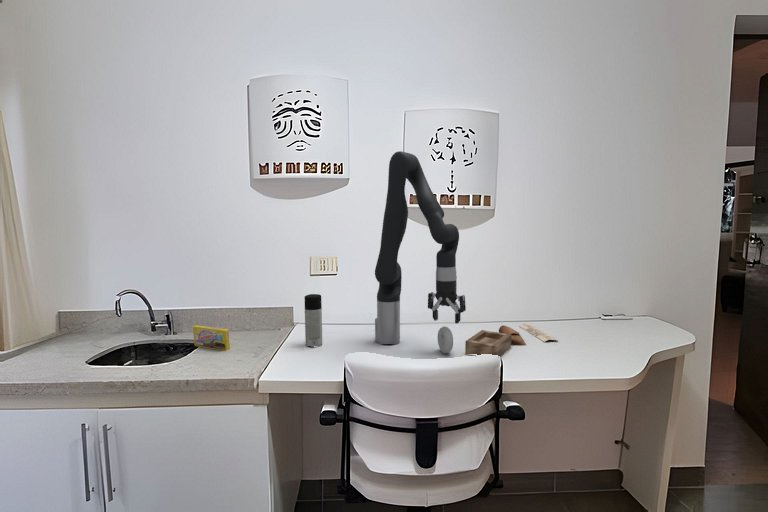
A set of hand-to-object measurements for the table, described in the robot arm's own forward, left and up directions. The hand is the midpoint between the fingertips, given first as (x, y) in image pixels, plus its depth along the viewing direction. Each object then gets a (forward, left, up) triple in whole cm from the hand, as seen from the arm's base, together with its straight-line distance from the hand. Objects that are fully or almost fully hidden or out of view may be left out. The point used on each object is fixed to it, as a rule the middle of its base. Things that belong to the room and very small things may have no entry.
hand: (446, 321), depth 167 cm
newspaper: (+22, +42, -13) cm, 50 cm away
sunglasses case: (+16, +30, -13) cm, 36 cm away
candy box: (-80, -43, -12) cm, 92 cm away
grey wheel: (0, 0, -12) cm, 12 cm away
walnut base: (+13, +11, -12) cm, 21 cm away
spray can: (-48, -19, -12) cm, 53 cm away
